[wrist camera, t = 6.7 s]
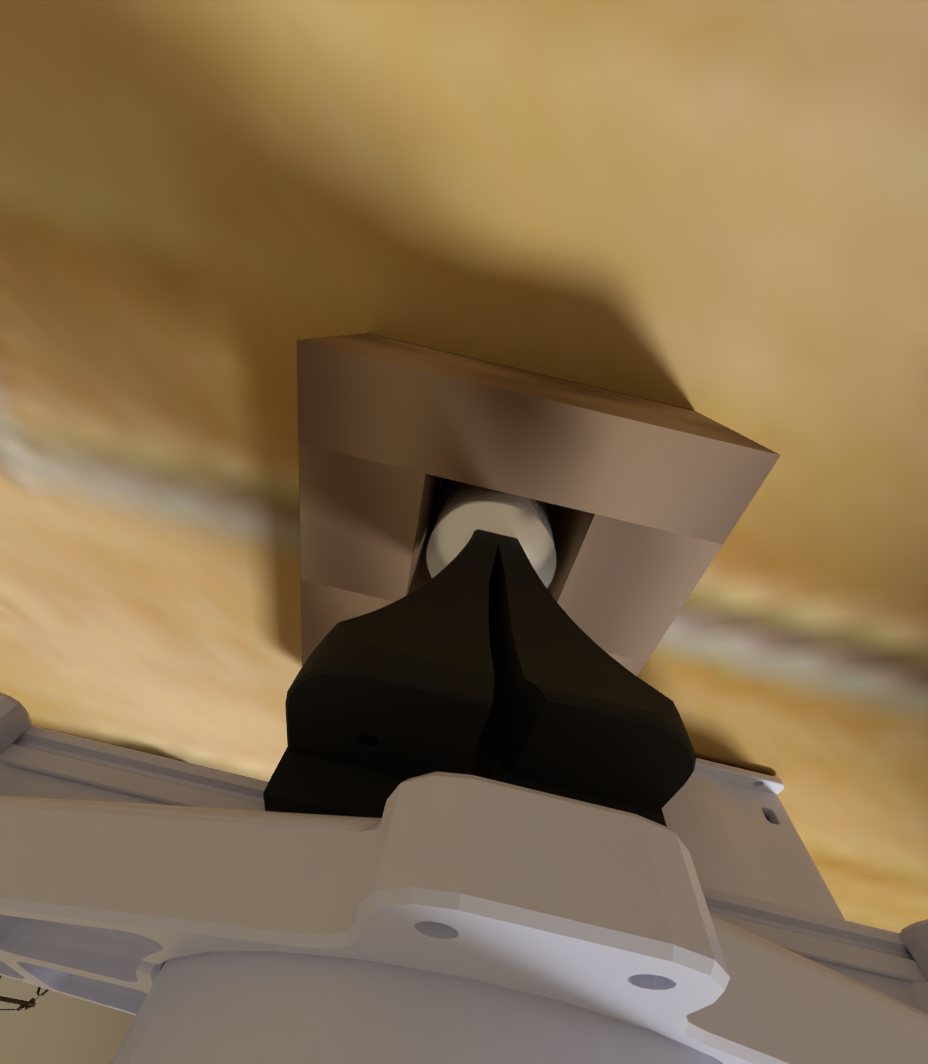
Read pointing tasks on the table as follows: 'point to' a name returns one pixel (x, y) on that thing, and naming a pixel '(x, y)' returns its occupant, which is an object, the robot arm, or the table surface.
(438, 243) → the table surface
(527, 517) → the peg
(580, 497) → the walnut block
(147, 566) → the table surface
